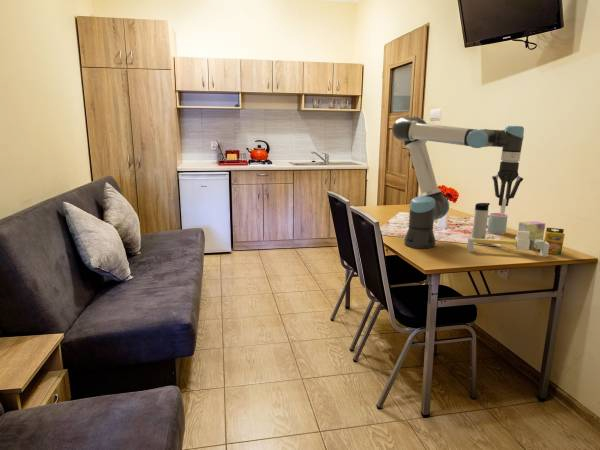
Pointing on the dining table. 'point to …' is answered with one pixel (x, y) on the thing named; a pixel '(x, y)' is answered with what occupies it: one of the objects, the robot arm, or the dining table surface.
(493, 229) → the mug
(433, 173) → the robot arm
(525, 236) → the sleeve
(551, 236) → the crayon box
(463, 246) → the dining table surface
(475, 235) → the travel mug
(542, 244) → the rail
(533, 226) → the box
